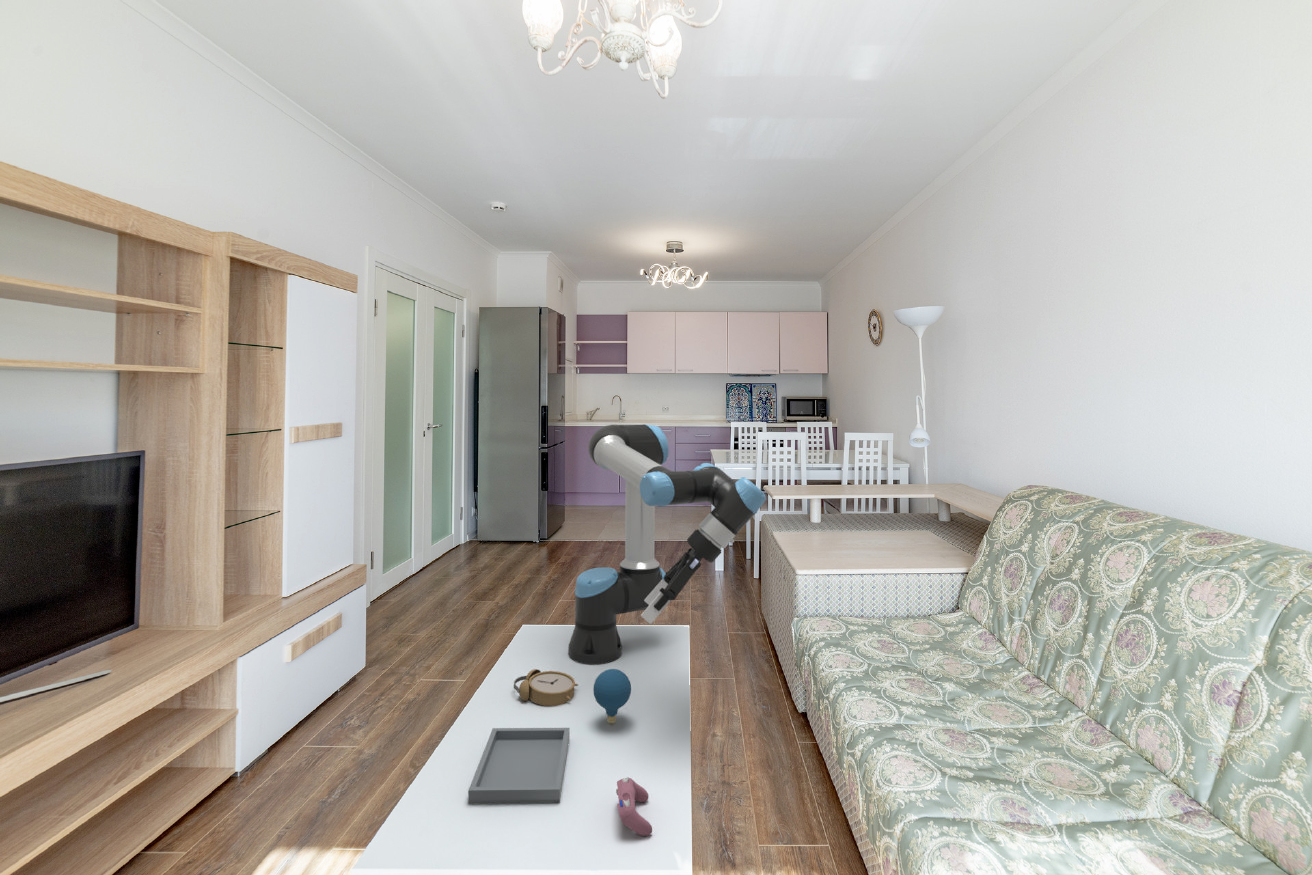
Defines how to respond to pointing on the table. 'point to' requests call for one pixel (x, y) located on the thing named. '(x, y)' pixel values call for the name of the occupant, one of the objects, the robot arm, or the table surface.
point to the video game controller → (632, 806)
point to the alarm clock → (546, 687)
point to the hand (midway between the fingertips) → (647, 611)
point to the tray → (521, 766)
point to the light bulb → (612, 691)
